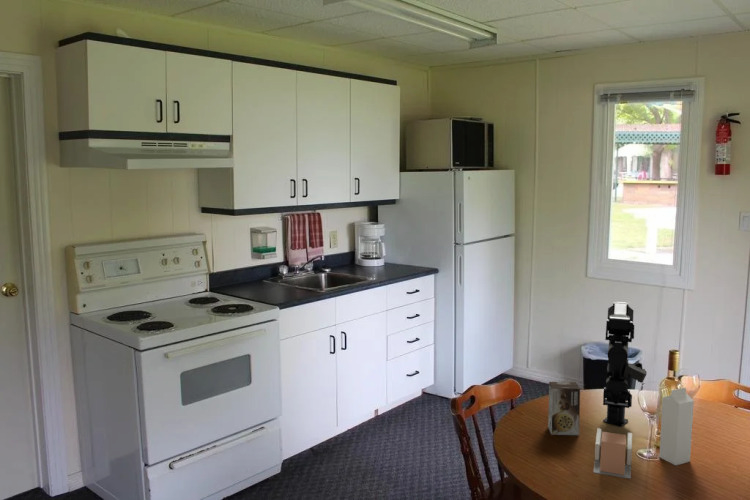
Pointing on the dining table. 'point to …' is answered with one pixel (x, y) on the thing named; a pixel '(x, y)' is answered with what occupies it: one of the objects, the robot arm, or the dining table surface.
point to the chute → (598, 453)
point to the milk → (676, 427)
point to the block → (613, 453)
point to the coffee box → (564, 408)
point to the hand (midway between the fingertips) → (615, 403)
